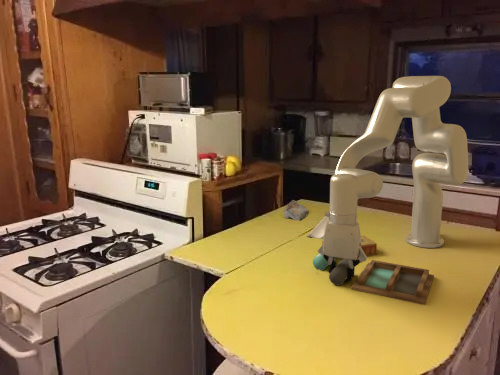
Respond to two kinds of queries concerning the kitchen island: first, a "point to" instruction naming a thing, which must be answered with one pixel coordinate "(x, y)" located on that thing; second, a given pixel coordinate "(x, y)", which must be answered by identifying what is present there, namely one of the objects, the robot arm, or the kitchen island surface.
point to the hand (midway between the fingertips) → (341, 277)
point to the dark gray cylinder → (339, 272)
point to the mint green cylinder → (320, 262)
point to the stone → (295, 211)
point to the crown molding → (319, 229)
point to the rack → (395, 281)
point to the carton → (367, 246)
